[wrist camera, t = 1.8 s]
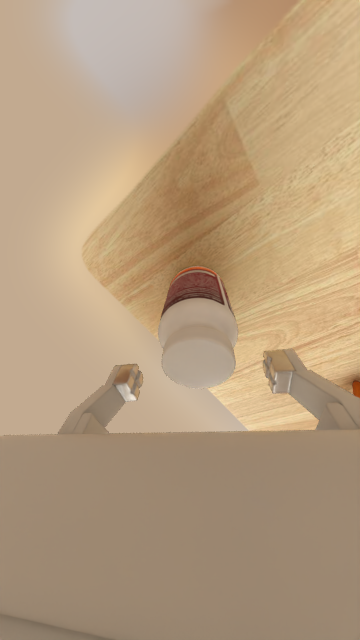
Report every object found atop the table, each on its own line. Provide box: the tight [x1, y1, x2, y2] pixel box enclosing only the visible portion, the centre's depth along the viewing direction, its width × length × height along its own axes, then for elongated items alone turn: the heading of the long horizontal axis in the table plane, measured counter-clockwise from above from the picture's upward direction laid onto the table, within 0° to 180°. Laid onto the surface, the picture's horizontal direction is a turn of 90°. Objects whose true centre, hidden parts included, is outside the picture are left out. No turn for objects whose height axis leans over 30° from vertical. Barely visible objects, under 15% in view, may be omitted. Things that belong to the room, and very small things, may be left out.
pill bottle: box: [158, 266, 238, 388], centre depth 15 cm, size 6×6×11 cm
